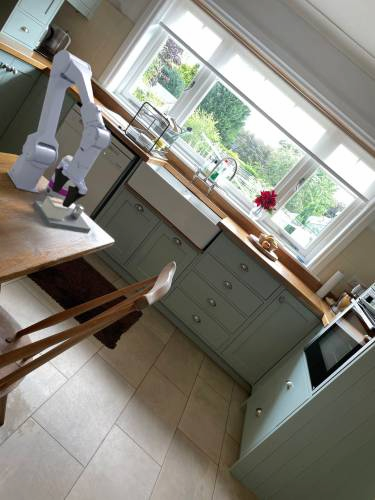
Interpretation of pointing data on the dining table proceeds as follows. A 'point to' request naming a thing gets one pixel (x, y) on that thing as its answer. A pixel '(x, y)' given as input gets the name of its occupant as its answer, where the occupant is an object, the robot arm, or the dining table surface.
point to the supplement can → (64, 190)
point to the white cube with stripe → (54, 207)
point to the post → (77, 212)
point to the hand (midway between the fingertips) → (60, 198)
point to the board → (62, 220)
